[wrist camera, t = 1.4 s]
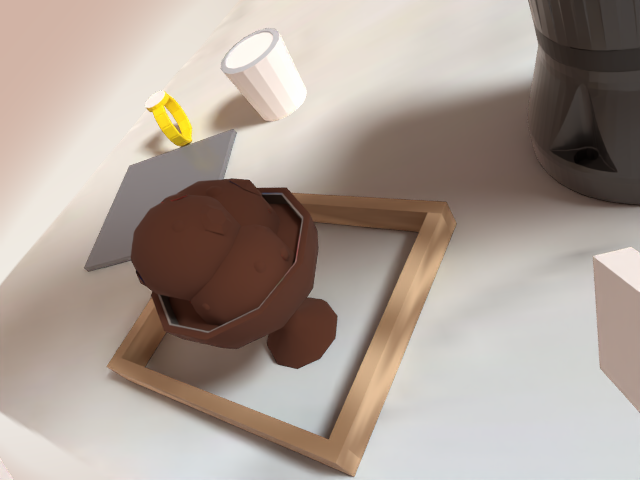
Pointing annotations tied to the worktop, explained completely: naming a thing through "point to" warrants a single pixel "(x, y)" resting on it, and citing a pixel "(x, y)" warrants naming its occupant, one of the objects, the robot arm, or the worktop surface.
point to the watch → (160, 115)
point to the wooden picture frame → (380, 356)
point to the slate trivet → (156, 192)
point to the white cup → (265, 74)
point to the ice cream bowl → (235, 269)
